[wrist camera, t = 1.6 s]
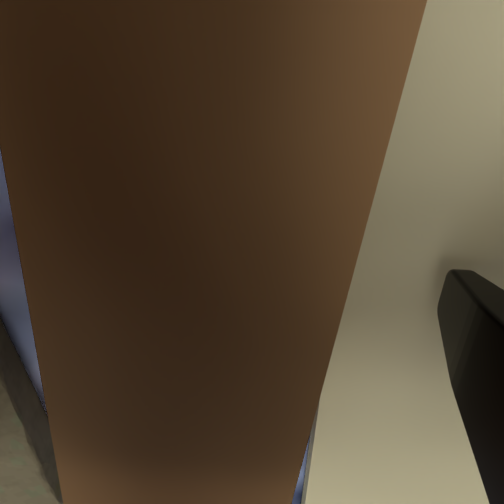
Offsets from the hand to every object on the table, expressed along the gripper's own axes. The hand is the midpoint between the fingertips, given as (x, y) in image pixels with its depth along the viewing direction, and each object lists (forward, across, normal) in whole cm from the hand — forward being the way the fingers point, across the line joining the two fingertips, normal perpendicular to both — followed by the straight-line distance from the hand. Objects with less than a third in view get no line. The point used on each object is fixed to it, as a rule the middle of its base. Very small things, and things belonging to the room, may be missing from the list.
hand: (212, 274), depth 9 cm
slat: (+2, 0, 0) cm, 2 cm away
